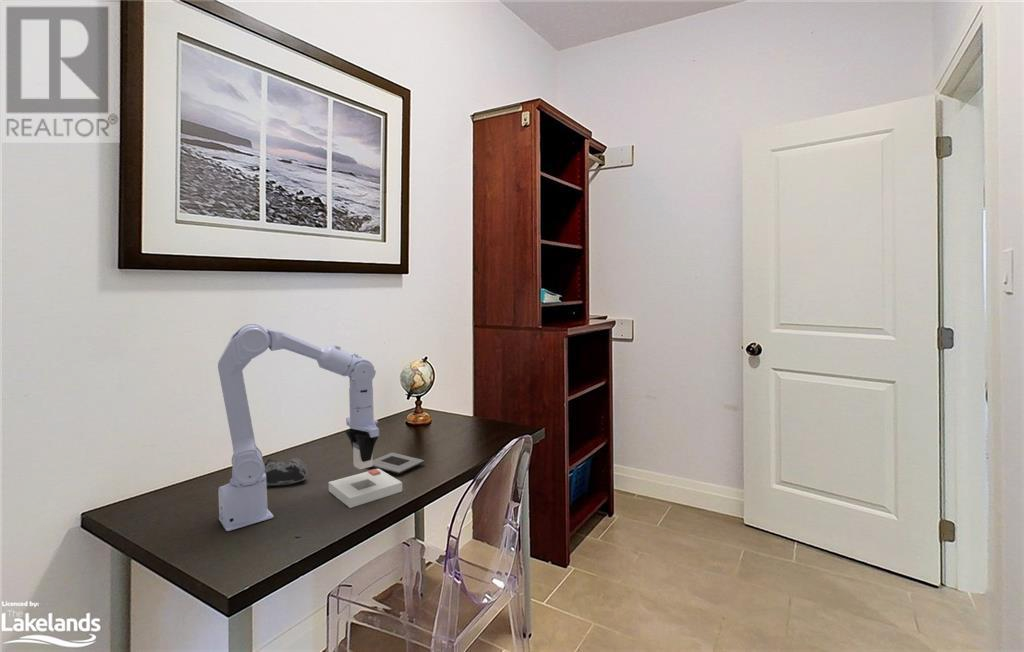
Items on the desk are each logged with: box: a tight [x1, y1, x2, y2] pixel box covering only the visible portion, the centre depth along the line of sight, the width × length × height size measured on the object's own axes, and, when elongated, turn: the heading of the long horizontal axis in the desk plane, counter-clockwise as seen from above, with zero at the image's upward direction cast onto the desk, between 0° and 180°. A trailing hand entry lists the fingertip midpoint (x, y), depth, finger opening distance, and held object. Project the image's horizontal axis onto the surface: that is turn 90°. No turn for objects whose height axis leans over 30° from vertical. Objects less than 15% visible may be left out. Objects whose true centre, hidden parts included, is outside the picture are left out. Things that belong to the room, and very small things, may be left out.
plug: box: [352, 442, 374, 470], centre depth 122 cm, size 4×4×6 cm
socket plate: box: [328, 468, 403, 509], centre depth 124 cm, size 14×13×3 cm
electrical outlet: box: [370, 452, 425, 475], centre depth 140 cm, size 13×10×2 cm
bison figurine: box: [264, 457, 309, 487], centre depth 131 cm, size 12×7×10 cm
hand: (362, 458), depth 122 cm, fingers closed on plug, 3 cm apart
